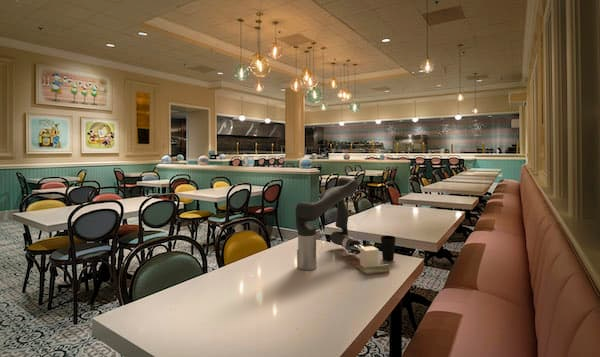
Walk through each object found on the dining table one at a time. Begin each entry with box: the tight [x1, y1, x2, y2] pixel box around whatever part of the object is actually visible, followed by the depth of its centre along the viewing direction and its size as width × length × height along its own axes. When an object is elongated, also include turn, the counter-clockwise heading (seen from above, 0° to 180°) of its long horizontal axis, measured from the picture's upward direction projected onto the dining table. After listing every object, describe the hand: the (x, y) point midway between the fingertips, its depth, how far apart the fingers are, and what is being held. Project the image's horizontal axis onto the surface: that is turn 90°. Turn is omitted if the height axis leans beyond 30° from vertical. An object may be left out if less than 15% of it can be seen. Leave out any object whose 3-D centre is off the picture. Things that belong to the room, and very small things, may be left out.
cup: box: [380, 235, 397, 262], centre depth 186 cm, size 8×8×12 cm
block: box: [360, 245, 380, 269], centre depth 173 cm, size 6×7×9 cm
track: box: [341, 253, 390, 277], centre depth 179 cm, size 29×12×4 cm, turn 17°
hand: (366, 253), depth 176 cm, fingers closed
